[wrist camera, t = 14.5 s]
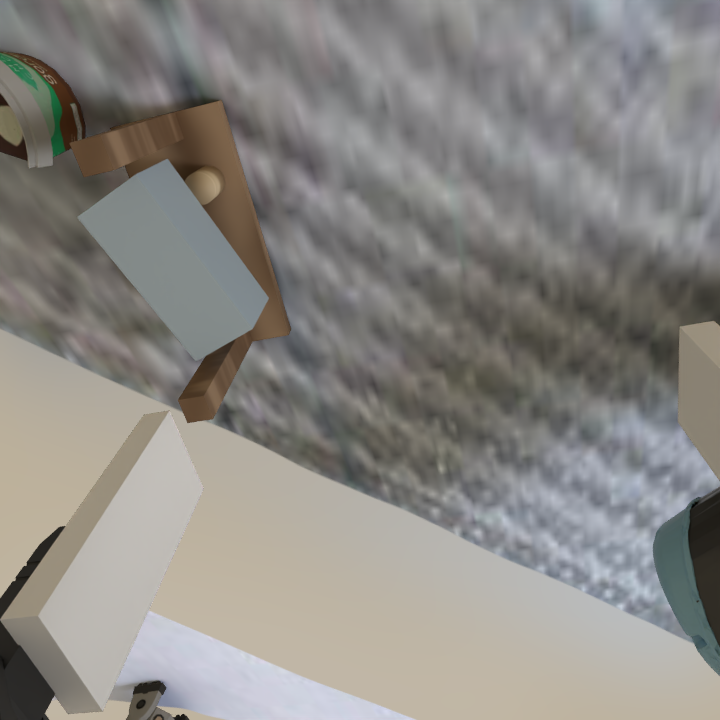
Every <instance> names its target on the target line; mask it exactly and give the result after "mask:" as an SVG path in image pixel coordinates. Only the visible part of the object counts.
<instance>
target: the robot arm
mask: <svg viewBox="0 0 720 720" xmlns="http://www.w3.org/2000/svg"><path fill="white" fill-rule="evenodd" d="M678 423H679V424H680V426H681V427H682V428H683V430H684V431H685V433H686V434H687V436H688V437H689V438H690V440H691V441H692V443H693V444H694V445H695V447H696V448H697V450H698V451H699V452H700V454H701V455H702V457H703V458H704V459H705V461H706V462H707V464H708V465H709V466H710V468H711V469H712V471H713V472H714V473H715V475H716V476H717V478H718V479H719V481H720V326H719V325H718V324H717V323H716V322H715V321H710V322H704V323H698V324H691V325H685V326H679V387H678ZM203 489H204V488H203V486H202V483H201V481H200V479H199V476H198V474H197V472H196V470H195V467H194V465H193V463H192V460H191V458H190V456H189V453H188V451H187V449H186V447H185V444H184V442H183V440H182V438H181V435H180V433H179V431H178V428H177V426H176V424H175V422H174V419H173V417H172V415H171V412H170V411H163V412H157V413H151V414H146V415H143V417H142V418H141V420H140V421H139V423H138V424H137V425H136V427H135V428H134V430H133V431H132V433H131V434H130V435H129V437H128V438H127V440H126V441H125V443H124V444H123V445H122V447H121V448H120V450H119V451H118V452H117V454H116V455H115V457H114V458H113V460H112V461H111V463H110V464H109V465H108V467H107V469H105V471H104V472H103V474H102V475H101V477H100V478H99V480H98V481H97V482H96V484H95V485H94V487H93V488H92V489H91V491H90V492H89V494H88V495H87V497H86V498H85V499H84V501H83V502H82V504H81V505H80V506H79V508H78V509H77V511H76V512H75V514H74V515H73V517H72V518H71V519H70V521H69V522H68V524H67V525H66V526H62V527H59V528H58V529H57V530H55V531H54V532H53V533H52V534H51V535H50V536H49V537H48V538H46V539H45V540H44V541H43V542H42V543H41V544H40V545H39V546H38V548H37V549H36V550H35V552H34V553H33V554H32V556H31V557H30V558H29V560H28V561H27V566H24V567H23V568H22V570H21V571H20V572H19V574H18V575H17V576H16V581H13V582H12V583H11V585H10V586H9V587H8V589H7V590H6V591H5V593H4V594H3V595H2V597H1V598H0V720H49V719H48V717H47V716H46V715H45V712H46V710H47V708H48V706H49V704H50V703H51V701H52V699H53V697H54V695H55V697H56V698H57V700H58V701H59V702H60V704H61V705H62V706H63V708H64V709H65V711H66V712H67V713H68V714H74V713H87V712H99V711H103V710H104V708H105V705H106V703H107V701H108V699H109V697H110V694H111V692H112V690H113V688H114V686H115V683H116V681H117V679H118V677H119V674H120V672H121V670H122V668H123V666H124V663H125V661H126V659H127V657H128V655H129V652H130V650H131V648H132V646H133V644H134V641H135V639H136V637H137V635H138V633H139V630H140V628H141V626H142V624H143V622H144V619H145V617H146V615H147V613H148V611H149V608H150V606H151V604H152V602H153V600H154V597H155V595H156V593H157V591H158V588H159V586H160V584H161V582H162V580H163V577H164V575H165V573H166V571H167V569H168V566H169V564H170V562H171V560H172V558H173V555H174V553H175V551H176V549H177V547H178V544H179V542H180V540H181V538H182V535H183V533H184V531H185V529H186V527H187V525H188V522H189V520H190V518H191V516H192V514H193V511H194V509H195V507H196V504H197V502H198V500H199V498H200V496H201V493H202V491H203ZM653 557H654V563H655V567H656V571H657V574H658V578H659V581H660V583H661V586H662V588H663V591H664V593H665V596H666V598H667V600H668V602H669V604H670V606H671V608H672V610H673V612H674V614H675V616H676V618H677V620H678V621H679V623H680V625H681V627H682V628H683V630H684V631H685V633H686V634H687V635H689V636H691V637H692V639H693V642H694V644H695V646H696V648H697V650H698V652H699V653H700V655H701V656H702V657H703V658H704V660H705V661H706V662H707V663H708V665H709V666H710V667H711V668H712V669H713V670H714V671H715V672H716V673H717V674H718V675H720V487H718V488H717V489H715V490H713V491H712V492H710V493H708V494H707V495H705V496H704V497H702V498H701V497H698V498H696V499H694V500H692V501H691V502H690V503H689V504H688V506H687V507H686V509H684V510H683V511H681V512H680V513H679V514H677V515H676V516H674V517H673V518H671V519H670V520H668V521H667V522H665V523H664V524H663V525H662V526H661V527H660V528H659V529H658V531H657V532H656V536H655V540H654V544H653Z"/></svg>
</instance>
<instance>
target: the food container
mask: <svg viewBox="0 0 720 720" xmlns="http://www.w3.org/2000/svg"><path fill="white" fill-rule="evenodd" d="M84 138H85V123H84V119H83V115H82V111H81V107H80V104H79V103H78V101H77V99H76V97H75V95H74V93H73V91H72V90H71V88H70V86H69V85H68V84H67V83H66V82H65V81H64V79H63V78H62V77H61V76H60V75H59V74H58V73H57V72H56V71H55V70H54V69H53V68H51V67H50V66H48V65H47V64H45V63H44V62H42V61H41V60H38V59H36V58H34V57H32V56H28V55H24V54H18V53H8V52H0V152H2V153H5V154H8V155H12V156H15V157H18V158H21V159H24V160H27V161H28V168H32V167H38V168H39V167H46V166H52V165H53V157H55V156H57V155H59V154H61V153H63V152H65V151H67V150H69V149H71V146H70V143H71V142H74V141H78V140H81V139H84Z"/></svg>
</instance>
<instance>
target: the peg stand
mask: <svg viewBox="0 0 720 720" xmlns="http://www.w3.org/2000/svg"><path fill="white" fill-rule="evenodd" d="M110 129H111V130H110V131H107V132H104V133H101V134H97V135H94V136H91V137H87V138H84V139H81V140H78V141H74V142H71V143H70V146H71V148H72V150H73V153H74V155H75V157H76V160H77V162H78V165H79V167H80V169H81V172H82V174H83V176H84V177H87V176H91V175H96V174H100V173H104V172H108V171H113V170H116V169H118V168H120V167H122V166H124V165H125V168H126V171H127V173H128V176H129V178H131V177H133V176H134V175H136V174H138V173H140V172H142V171H144V170H146V169H148V168H150V167H152V166H154V165H156V164H158V163H160V162H162V161H164V160H166V159H168V160H169V162H170V163H171V164H172V166H173V167H174V168H175V170H176V171H177V172H178V174H179V175H180V177H181V178H182V179H183V181H184V182H185V183H186V185H187V186H188V188H189V189H190V190H191V192H192V193H193V194H194V196H195V197H196V199H197V200H198V201H199V203H200V204H201V205H202V207H203V208H204V210H205V211H206V212H207V214H208V215H209V216H210V218H211V219H212V221H213V222H214V223H215V225H216V226H217V227H218V229H219V230H220V231H221V233H222V234H223V236H224V237H225V238H226V240H227V241H228V242H229V244H230V245H231V247H232V248H233V249H234V251H235V252H236V253H237V255H238V256H239V258H240V259H241V260H242V262H243V263H244V264H245V266H246V267H247V269H248V270H249V271H250V273H251V274H252V275H253V277H254V278H255V280H256V281H257V282H258V284H259V285H260V286H261V288H262V289H263V291H264V292H265V293H266V295H267V296H268V297H269V299H268V301H267V303H266V305H265V307H264V309H263V310H262V312H261V314H260V316H259V318H258V320H257V322H256V324H255V326H254V327H253V329H252V330H250V331H248V332H246V333H245V334H243V335H241V336H240V337H238V338H236V339H234V340H233V341H231V342H229V343H227V344H226V345H224V346H222V347H220V348H219V349H217V350H215V351H214V352H212V353H210V354H208V355H207V356H206V357H205V358H204V360H203V361H202V363H201V365H200V366H199V368H198V369H197V371H196V372H195V374H194V376H193V377H192V379H191V380H190V382H189V384H188V385H187V387H186V388H185V390H184V391H183V393H182V395H181V396H180V398H179V399H178V401H179V404H180V406H181V408H182V411H183V413H184V416H185V418H186V420H187V423H190V422H197V421H203V420H210V419H213V418H214V416H215V414H216V412H217V410H218V408H219V406H220V404H221V402H222V400H223V398H224V396H225V394H226V392H227V390H228V389H229V387H230V385H231V383H232V381H233V379H234V377H235V375H236V373H237V371H238V369H239V367H240V365H241V363H242V361H243V359H244V357H245V355H246V353H247V351H248V349H249V347H250V345H251V343H252V341H258V340H263V339H269V338H274V337H280V336H286V335H289V333H290V331H291V327H290V324H289V321H288V318H287V314H286V311H285V308H284V304H283V301H282V298H281V294H280V291H279V288H278V284H277V281H276V278H275V275H274V271H273V268H272V265H271V261H270V258H269V255H268V251H267V248H266V245H265V242H264V238H263V235H262V232H261V228H260V225H259V222H258V218H257V215H256V212H255V209H254V205H253V202H252V199H251V195H250V192H249V189H248V185H247V182H246V179H245V175H244V172H243V169H242V166H241V162H240V159H239V156H238V152H237V149H236V146H235V142H234V139H233V136H232V133H231V129H230V126H229V123H228V119H227V116H226V113H225V109H224V106H223V103H222V100H220V101H216V102H212V103H208V104H204V105H200V106H196V107H192V108H188V109H184V110H180V111H176V112H172V113H168V114H164V115H160V116H156V117H152V118H148V119H144V120H140V121H136V122H132V123H128V124H124V125H119V126H116V127H112V128H110Z"/></svg>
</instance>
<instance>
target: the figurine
mask: <svg viewBox="0 0 720 720" xmlns="http://www.w3.org/2000/svg"><path fill="white" fill-rule="evenodd" d="M165 690H166V686H165V685H164V684H163V682H162V683H161V682H160V681H158V682H157V683H155V682H152V683H151V684H149V685H147V683H144V684H143V685H142V684H139V685H138V686H135V688H134V691H133V698H132V701H131V704H130V709H129V715H128V717H127V719H126V720H189V719H188V717H187V716H185V715H184V714H182V715H181V716H180V715H176V717H172V716H171V715H170V714H169V713H167V712H165V711H163V710H161V709H160V708H158V707H156V706H157V704H158V702H159V700H160V697H161V695H163V694H164V692H165Z"/></svg>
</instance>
